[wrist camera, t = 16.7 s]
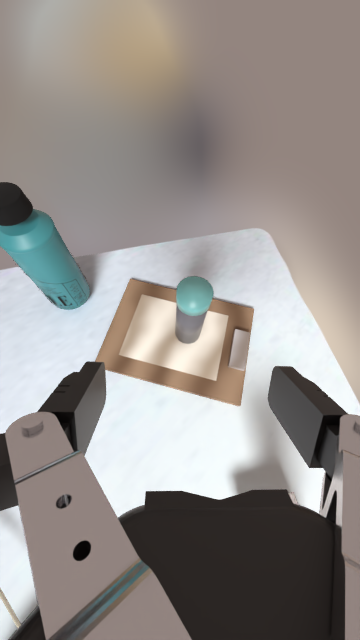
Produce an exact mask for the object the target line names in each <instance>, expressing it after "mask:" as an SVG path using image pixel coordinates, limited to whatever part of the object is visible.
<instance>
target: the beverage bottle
mask: <svg viewBox="0 0 360 640" xmlns="http://www.w3.org/2000/svg"><path fill="white" fill-rule="evenodd" d="M0 246H1V247H2V248H3V249H4V250H5V251H6V252H7V253H8V254H9V255H10V256H11V257H12V258H13V259H14V260H15V262H16V263H17V264H18V265H19V267H20V268H22V270H23V271H24V272H25V275H26V274H27V275H28V276H29V277H30V278H31V279H32V281H33V282H34V283H35V284H36V285H37V287H38V288H40V289H41V290H42V292H43V293H44V294H45V295H46V298H47V297H48V298H49V299H48V298H47V299H48V300H49V301H50V300H51V301H52V302H53V303H54V305H55V306H57V307H59V308H61V309H66V310H70V309H75V308H78V307H80V306H81V305H83V304H84V303H85V302H86V301H87V299H88V297H89V285H88V283H87V282H88V281H86V280H85V278H84V276H83V274H82V273H81V272H82V271H81V270H80V269H79V268H78V266H77V264H78V263H76V262H75V260H74V259H73V257H72V256H71V254H70V252H69V250H68V249H67V247H66V245H65V243H64V242H63V240H62V238H61V236H60V234H59V233H58V231H57V229H56V227H55V225H54V222H53V220H52V219H51V217H49V215H47V214H46V213H44V212H42V211H39V210H35V209H33V206H32V204H31V202H30V201H29V199H28V198H27V197H26V196H25V194H24V193H23V192H22V190H21V189H20V188H19V187H18V186H17V185H15V184H12V183H8V182H1V183H0ZM40 289H39V290H40ZM51 301H50V302H51ZM52 302H51V303H52Z"/></svg>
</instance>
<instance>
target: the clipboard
mask: <svg viewBox="0 0 360 640" xmlns="http://www.w3.org/2000/svg"><path fill="white" fill-rule="evenodd" d="M176 292H177V290H174V289H170V288H166V287H162V286H157V285H153V284H149V283H145V282H141V281H137V280H133V279H130V281H129V283H128V285H127V288H126V290H125V292H124V295H123V297H122V299H121V302H120V304H119V306H118V309H117V311H116V314H115V316H114V318H113V321H112V323H111V325H110V328H109V330H108V332H107V335H106V337H105V339H104V342H103V344H102V346H101V349H100V351H99V354H98V356H97V358H96V361H95V362H104V364H105V370H108V371H112V372H116V373H119V374H123V375H126V376H130V377H134V378H137V379H141V380H145V381H148V382H152V383H156V384H159V385H163V386H167V387H170V388H174V389H178V390H181V391H185V392H188V393H192V394H196V395H199V396H203V397H207V398H210V399H214V400H218V401H221V402H225V403H229V404H232V405H236V406H241V399H242V392H243V384H244V377H245V370H246V363H247V356H248V349H249V342H250V335H251V328H252V321H253V313H254V309H252V308H248V307H244V306H240V305H236V304H232V303H227V302H223V301H219V300H215V299H212V301H211V304H210V307H209V309H208V311H207V314H206V317H205V320H204V323H203V327H202V330H201V333H200V336H199V338H198V340H197V341H195V342H194V343H191V344H185V343H182V342H180V341H179V340H178V339H177V337H176V335H175V324H176V307H177V303H176Z"/></svg>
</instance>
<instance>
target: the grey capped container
mask: <svg viewBox="0 0 360 640" xmlns="http://www.w3.org/2000/svg"><path fill="white" fill-rule="evenodd" d="M212 298H213V288H212V286H211V284H210V283H209V282H208V281H207V280H205V279H203V278H201V277H197V276H192V277H187V278H185V279H183V280H182V281H181V282H180V283H179V284H178V286H177V292H176V303H177V307H176V324H175V335H176V337H177V339H178V340H179V341H180V342H182V343H185V344H191V343H194V342H195V341H197V340H198V338H199V336H200V333H201V330H202V327H203V323H204V320H205V317H206V314H207V311H208V309H209V307H210V304H211V301H212Z"/></svg>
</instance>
